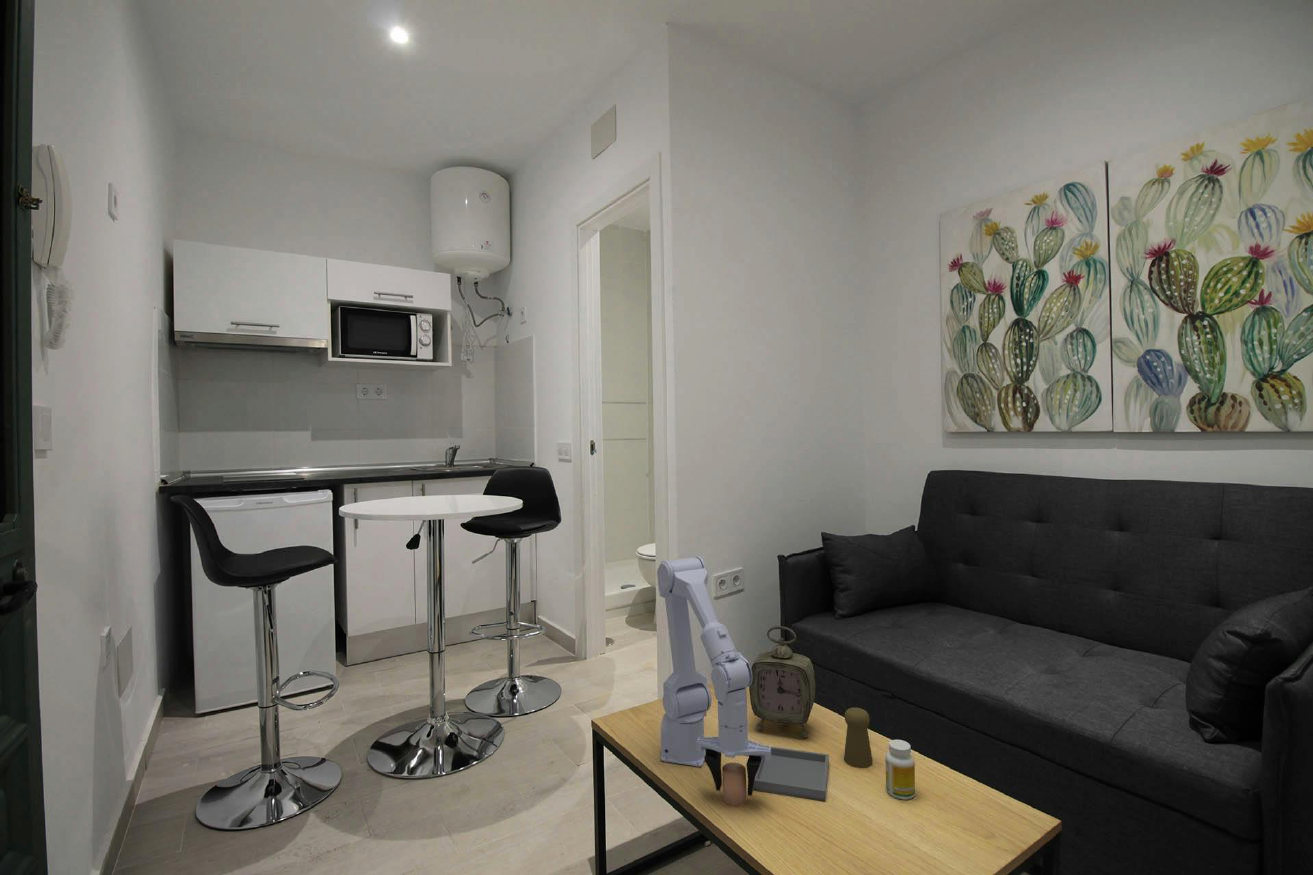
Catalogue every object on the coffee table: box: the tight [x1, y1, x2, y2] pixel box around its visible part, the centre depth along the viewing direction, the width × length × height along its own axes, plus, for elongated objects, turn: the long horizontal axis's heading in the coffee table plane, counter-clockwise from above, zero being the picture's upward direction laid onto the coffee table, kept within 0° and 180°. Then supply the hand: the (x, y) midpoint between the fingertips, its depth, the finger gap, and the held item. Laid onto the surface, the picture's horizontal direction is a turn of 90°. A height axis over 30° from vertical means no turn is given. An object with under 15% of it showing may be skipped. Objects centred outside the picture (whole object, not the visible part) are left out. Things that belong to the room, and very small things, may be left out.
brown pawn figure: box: [843, 707, 874, 769], centre depth 132 cm, size 6×6×11 cm
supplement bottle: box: [884, 739, 916, 801], centre depth 120 cm, size 5×5×10 cm
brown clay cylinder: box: [721, 762, 748, 807], centre depth 120 cm, size 5×5×6 cm
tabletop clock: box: [748, 625, 816, 739], centre depth 147 cm, size 14×9×25 cm, turn 67°
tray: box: [753, 746, 830, 802], centre depth 127 cm, size 14×14×2 cm
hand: (734, 790), depth 120 cm, fingers open, 6 cm apart
